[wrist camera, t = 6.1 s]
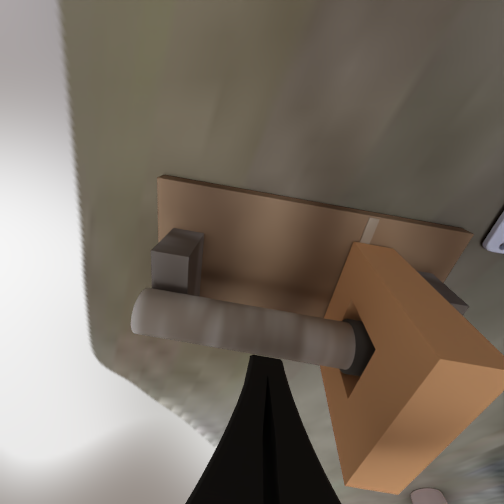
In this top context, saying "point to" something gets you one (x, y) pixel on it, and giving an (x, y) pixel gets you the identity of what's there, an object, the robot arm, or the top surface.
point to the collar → (403, 372)
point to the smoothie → (428, 496)
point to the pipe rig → (273, 271)
